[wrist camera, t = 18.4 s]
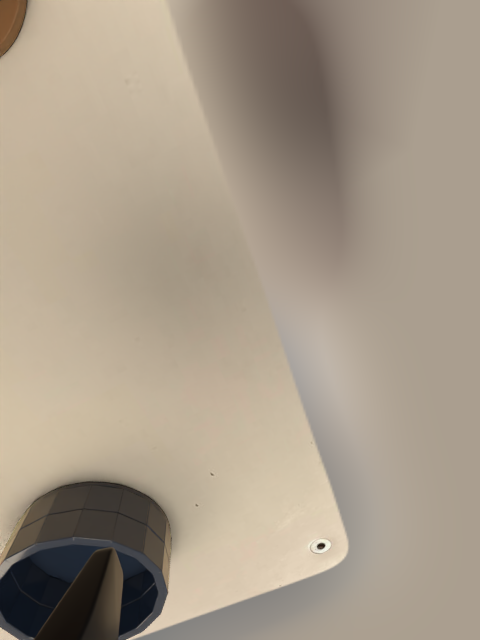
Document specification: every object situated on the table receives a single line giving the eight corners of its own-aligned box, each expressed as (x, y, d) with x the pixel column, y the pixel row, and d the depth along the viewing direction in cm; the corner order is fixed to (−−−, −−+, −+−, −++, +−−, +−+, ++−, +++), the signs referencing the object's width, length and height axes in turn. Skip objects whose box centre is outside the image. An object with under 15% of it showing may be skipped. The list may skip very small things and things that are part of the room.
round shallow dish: (156, 470, 23) (148, 523, 20) (181, 571, 27) (178, 632, 24) (-5, 496, 23) (-44, 557, 19) (44, 597, 27) (20, 664, 23)
